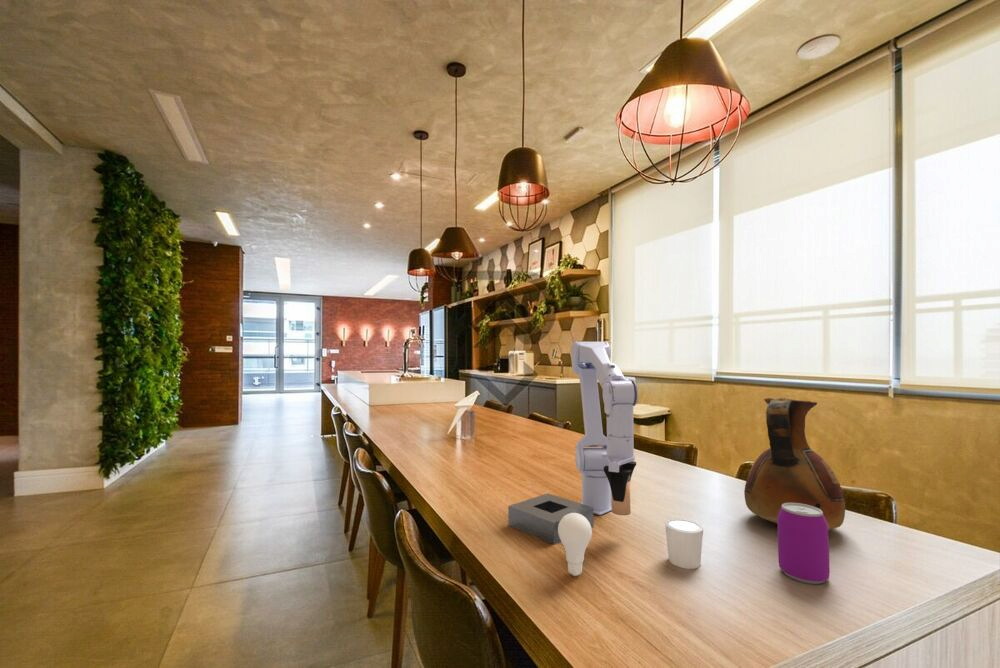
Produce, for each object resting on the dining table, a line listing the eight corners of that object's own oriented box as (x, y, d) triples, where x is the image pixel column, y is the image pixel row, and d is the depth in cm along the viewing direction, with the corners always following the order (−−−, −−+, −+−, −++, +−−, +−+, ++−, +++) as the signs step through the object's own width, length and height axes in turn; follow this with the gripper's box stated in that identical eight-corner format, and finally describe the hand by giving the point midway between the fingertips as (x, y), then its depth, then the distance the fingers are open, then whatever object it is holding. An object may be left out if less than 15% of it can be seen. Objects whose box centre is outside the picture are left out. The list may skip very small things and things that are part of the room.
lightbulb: (592, 585, 76) (591, 521, 76) (557, 582, 77) (556, 518, 78) (592, 568, 82) (591, 509, 82) (559, 565, 83) (559, 506, 84)
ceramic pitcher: (850, 524, 104) (846, 397, 105) (840, 552, 89) (835, 404, 91) (757, 504, 117) (754, 392, 119) (735, 526, 103) (732, 397, 104)
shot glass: (702, 556, 87) (701, 520, 87) (706, 573, 81) (705, 534, 81) (665, 551, 89) (664, 516, 90) (666, 566, 83) (665, 529, 83)
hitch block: (548, 511, 112) (547, 493, 112) (593, 527, 102) (593, 507, 102) (508, 525, 103) (508, 505, 103) (554, 544, 92) (553, 522, 93)
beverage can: (777, 561, 85) (776, 498, 86) (826, 571, 81) (824, 505, 82) (779, 579, 78) (777, 510, 79) (833, 590, 75) (830, 519, 75)
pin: (618, 507, 98) (617, 471, 99) (634, 512, 95) (633, 475, 96) (607, 511, 96) (607, 474, 96) (624, 516, 93) (623, 478, 93)
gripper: (609, 428, 105) (609, 486, 104) (593, 439, 92) (594, 505, 91) (639, 430, 101) (640, 490, 101) (628, 442, 88) (629, 510, 88)
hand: (620, 497), depth 96 cm, fingers closed on pin, 4 cm apart
